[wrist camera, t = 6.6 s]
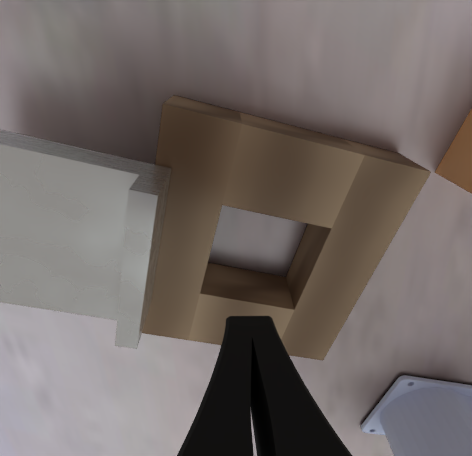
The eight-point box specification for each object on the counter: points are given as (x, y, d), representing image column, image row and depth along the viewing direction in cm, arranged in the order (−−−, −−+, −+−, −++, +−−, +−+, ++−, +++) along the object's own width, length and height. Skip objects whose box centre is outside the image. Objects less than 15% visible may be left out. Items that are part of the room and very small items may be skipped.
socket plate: (398, 153, 17) (431, 171, 14) (311, 325, 23) (323, 360, 20) (173, 94, 15) (162, 103, 12) (145, 297, 21) (133, 331, 18)
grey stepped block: (171, 168, 13) (157, 195, 11) (150, 304, 17) (136, 348, 15) (-3, 128, 12) (-64, 148, 10) (15, 281, 16) (-26, 325, 14)
